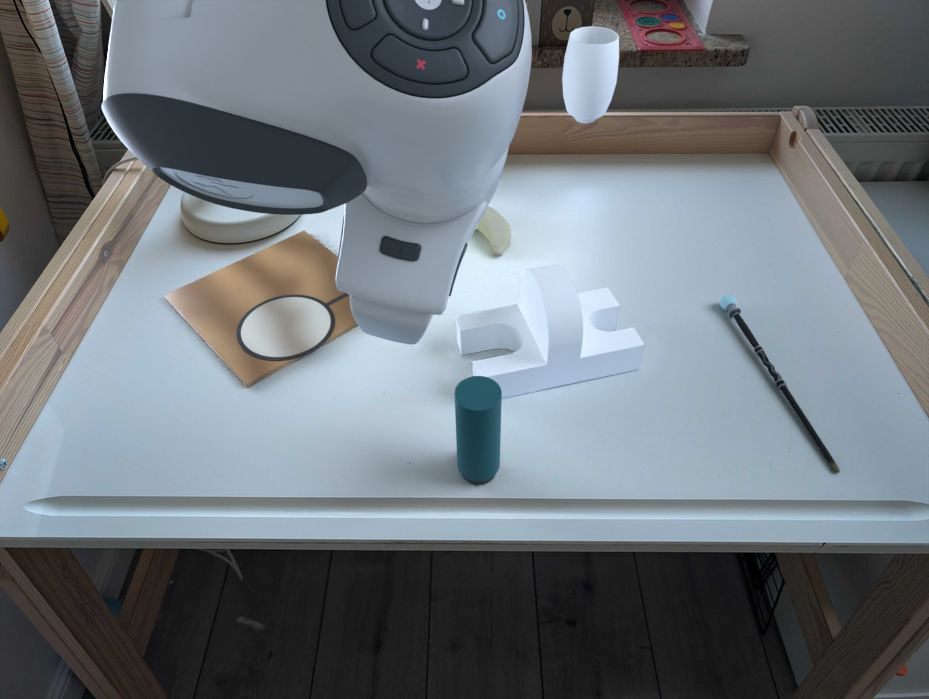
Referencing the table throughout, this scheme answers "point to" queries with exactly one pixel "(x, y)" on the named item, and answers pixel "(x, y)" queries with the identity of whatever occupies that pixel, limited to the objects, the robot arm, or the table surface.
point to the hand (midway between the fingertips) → (424, 218)
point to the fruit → (495, 230)
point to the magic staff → (775, 375)
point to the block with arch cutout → (550, 335)
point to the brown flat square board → (268, 307)
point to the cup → (590, 72)
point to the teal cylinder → (478, 428)
